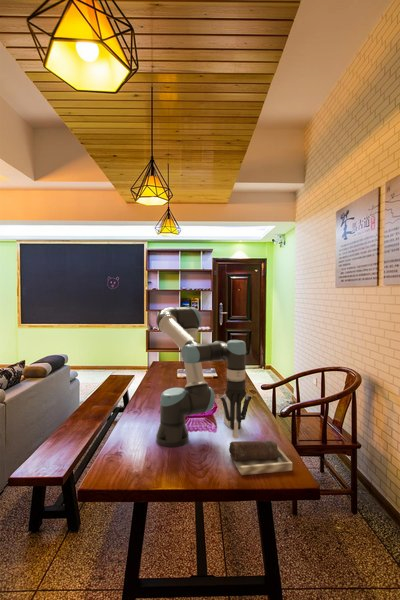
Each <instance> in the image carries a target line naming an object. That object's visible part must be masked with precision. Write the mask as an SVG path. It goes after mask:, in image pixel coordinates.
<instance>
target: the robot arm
mask: <svg viewBox="0 0 400 600" xmlns="http://www.w3.org/2000/svg"><path fill="white" fill-rule="evenodd" d="M155 319H156V327H157V328H158V330H159V331H160V332H161V333H163V334H165V335H167V337H169V338H170V339H171V340H172V342H173V343H174V344H175V346H177V347H178V348H179V349H180V355H181V358H182V361H183V362H184V363H183V364H184V365H183V366H184V370H185V377H186V384H185V386H184V387H170V388H168V389H165V390H164V391H163V392H162V393H161V395H160V401H159V404H160V406H159V407H160V408H159V409H160V410H159V412H160V416H159V417H160V419H159V422H160V424H159V427H158V429H157V432H156V436H155V440H156V443H157V444H158V445H160V446H163V447H168V448H176V447H177V448H178V447H181V446H184V445H185V444H187V443H188V442H189V439H190V438H189V431H188V428H187V425H186V417H188V416H193V415H198V414H205V413H208V412H211V411H212V410H213V408H214V405H215V402H216V396H215V392H214V389H213V388H212V387H211V386H209V383H208V382H207V381H206V380H205V377H204V372H203V371H204V370H203V366H202V363H207V362H214V361H215V362H217V361H224V362H226V391H225V393H224V394H225V395H224V394H223V395H220V396H219V399H220V400H221V403H222V406H223V413H224V412H225V416H226V419H227V420H228V421H230V427H229V429H230V430H232V432H231V433H232V437H233V439H235V440H237V439H238V438H239V430H241V426H240V423H241V424H242V421H245V420H246V417H247V412H248V408H249V404H250V401H252V397H253V396H251V395H250V394H248V393H247V391H246V370H247V369H246V368H247V367H246V366H247V365H246V363H247V347H246V346H247V345H246V344H247V343H246V341H244V340H242V339H241V340H239V339H230V340H228V341H227V342H225V341H222V340H215V341H214V342H208V343H207V342H205V343H200V342H199V341H198V335H197V334H198V332H199V328H200V327H201V326H202V316H201V313H200V311H199V310H198V309H197V308H196V307H193V306H168V307H164V308H163V309H161V310H160V311H159V313H158V314H157V316H156V318H155ZM226 397H228V399H229V400H230V416H229V411H228V407H227V403H226V400H227V399H226ZM243 400H244V401H243ZM242 402H243V405H242ZM235 403H236V419H237V420H235Z"/></svg>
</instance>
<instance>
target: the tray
mask: <svg viewBox="0 0 400 600" xmlns="http://www.w3.org/2000/svg"><path fill="white" fill-rule="evenodd" d="M277 447H278V453H279V457H278V459H268V460H247V461H234V460H233V459H232V457H231V454H230V453H229V455H230V458H231V459H232V461H233V463H234V465H235V467H236V469H237V471H238V473H239V474H240V476H248V475H249V476H250V475H259V474H268V473H269V474H271V473H279V472H291V471H293V462H292V461H291V459H290V458H289V457H288V456H287V455H286V454H285V453H284V451H282V449H281V448H280V447H279V446H278V445H277Z"/></svg>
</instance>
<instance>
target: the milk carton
mask: <svg viewBox="0 0 400 600" xmlns="http://www.w3.org/2000/svg"><path fill="white" fill-rule="evenodd" d="M223 395H225V393H224V394H223ZM226 399H227V400H226V403H227V407H228V411H229V416H230V400H229V399H228V397H226ZM235 420H237V419H236V403H235ZM223 423H224V424H225V425H226V427H228V428H230V421H228V420H227V419H226V416H225V412H224V411H223ZM241 426H242V422H241V423H240V427H241Z"/></svg>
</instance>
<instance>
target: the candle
mask: <svg viewBox="0 0 400 600" xmlns="http://www.w3.org/2000/svg"><path fill="white" fill-rule="evenodd" d="M277 446H278V442H277V440H252V441H251V440H250V441H249V440H247V441H244V440H243V441H242V440H241V441H237V440H235V441H231V442H230V443H229V446H228V450H229V455H230V454H231V456H230V458H231V457H232V458H231V459H232V461H233V460H234V461H247V460H268V459H278V457H279V453H278V447H279V446H278V447H277ZM234 461H233V462H234Z"/></svg>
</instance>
